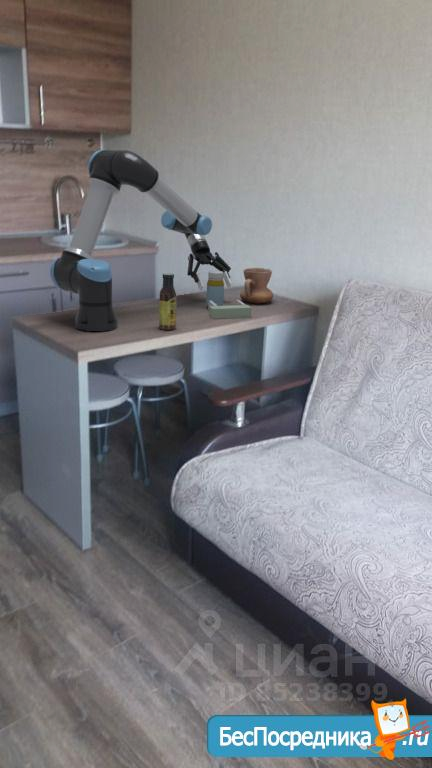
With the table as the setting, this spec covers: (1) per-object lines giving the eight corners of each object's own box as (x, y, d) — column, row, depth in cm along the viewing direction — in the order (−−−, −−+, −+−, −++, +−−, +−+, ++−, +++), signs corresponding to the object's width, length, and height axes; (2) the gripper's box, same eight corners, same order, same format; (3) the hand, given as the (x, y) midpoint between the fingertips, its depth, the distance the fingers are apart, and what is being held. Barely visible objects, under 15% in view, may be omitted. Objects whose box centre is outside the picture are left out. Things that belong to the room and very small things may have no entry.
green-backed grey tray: (212, 318, 235) (212, 308, 234) (203, 310, 247) (203, 300, 245) (251, 317, 239) (251, 307, 238) (240, 309, 251) (241, 299, 250)
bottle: (205, 305, 255) (206, 270, 250) (221, 305, 256) (222, 270, 251) (207, 309, 249) (209, 273, 243) (224, 309, 250) (226, 273, 244)
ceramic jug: (253, 296, 276) (254, 265, 271) (280, 301, 268) (282, 269, 263) (230, 303, 263) (231, 270, 258) (258, 308, 255) (259, 275, 249)
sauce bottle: (173, 331, 217) (174, 276, 210) (156, 329, 218) (156, 274, 211) (178, 326, 223) (179, 273, 216) (161, 325, 224) (162, 271, 217)
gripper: (219, 249, 266) (237, 289, 260) (169, 252, 253) (186, 294, 247) (227, 238, 260) (244, 279, 254) (175, 240, 247) (193, 284, 241)
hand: (216, 287), depth 250 cm, fingers open, 13 cm apart
